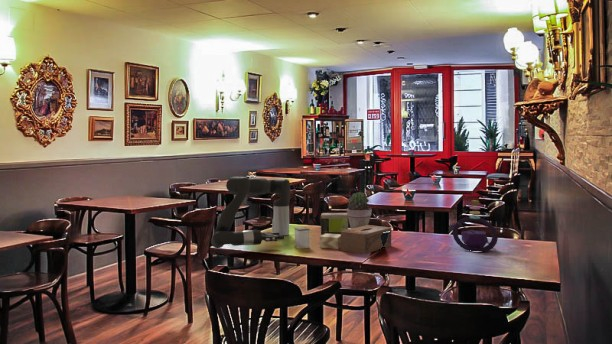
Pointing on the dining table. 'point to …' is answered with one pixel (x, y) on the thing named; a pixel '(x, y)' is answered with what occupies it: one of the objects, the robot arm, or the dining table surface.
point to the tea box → (333, 223)
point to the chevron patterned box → (330, 241)
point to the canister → (302, 237)
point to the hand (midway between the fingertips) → (281, 235)
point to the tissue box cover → (364, 239)
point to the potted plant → (359, 210)
